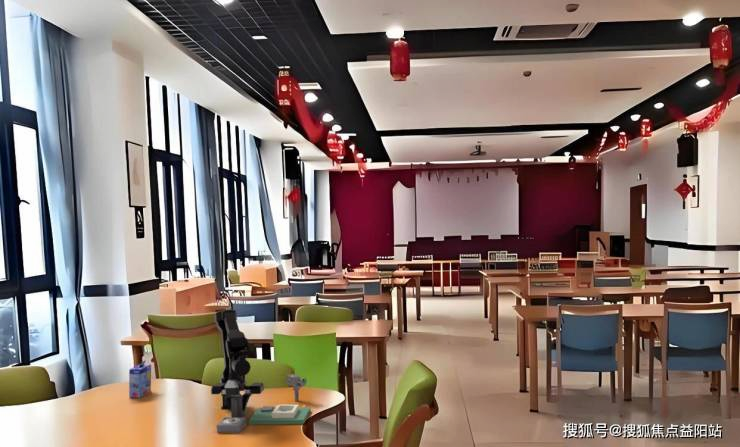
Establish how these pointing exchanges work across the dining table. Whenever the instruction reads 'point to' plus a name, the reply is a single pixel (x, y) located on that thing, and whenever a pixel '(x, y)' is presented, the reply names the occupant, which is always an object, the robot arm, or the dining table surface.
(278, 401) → the dining table surface
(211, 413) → the dining table surface
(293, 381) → the mechanical component
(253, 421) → the board
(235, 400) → the plug
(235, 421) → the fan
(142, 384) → the ink cartridge box
